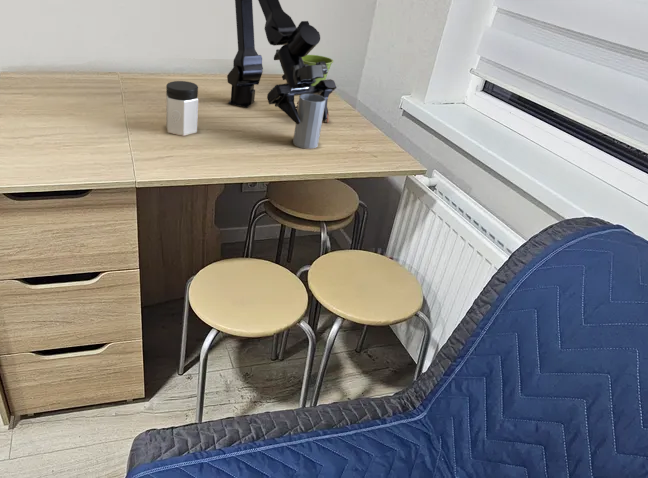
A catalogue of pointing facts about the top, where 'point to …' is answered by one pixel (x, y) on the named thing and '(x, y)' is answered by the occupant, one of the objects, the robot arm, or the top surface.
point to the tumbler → (309, 120)
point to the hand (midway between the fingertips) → (312, 121)
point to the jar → (181, 107)
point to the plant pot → (315, 59)
